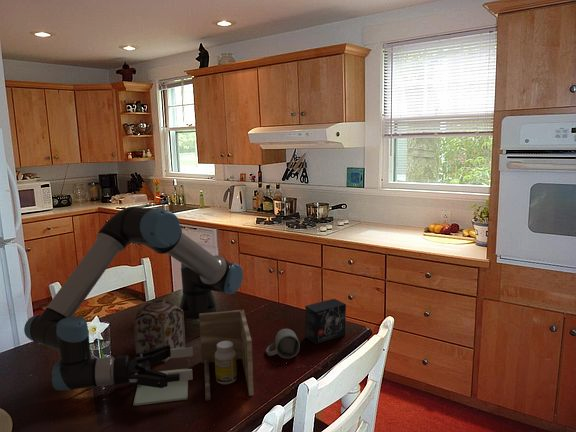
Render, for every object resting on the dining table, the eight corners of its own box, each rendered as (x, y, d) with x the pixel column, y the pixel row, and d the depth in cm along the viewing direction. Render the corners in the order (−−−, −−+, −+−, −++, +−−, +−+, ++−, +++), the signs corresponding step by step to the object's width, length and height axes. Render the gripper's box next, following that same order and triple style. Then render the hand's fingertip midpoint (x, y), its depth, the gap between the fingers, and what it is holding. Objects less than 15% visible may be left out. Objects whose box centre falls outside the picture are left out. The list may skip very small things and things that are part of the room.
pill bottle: (228, 371, 137) (227, 337, 135) (241, 379, 133) (240, 343, 131) (211, 379, 133) (209, 344, 131) (224, 387, 129) (222, 351, 127)
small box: (316, 345, 154) (315, 311, 152) (304, 338, 159) (304, 305, 157) (346, 335, 161) (346, 303, 159) (334, 329, 166) (334, 297, 164)
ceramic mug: (296, 346, 153) (295, 324, 152) (300, 357, 145) (299, 335, 144) (265, 349, 152) (263, 327, 150) (267, 361, 144) (266, 338, 142)
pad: (140, 375, 136) (140, 373, 136) (188, 370, 139) (188, 368, 139) (133, 405, 121) (133, 403, 120) (187, 399, 123) (187, 397, 123)
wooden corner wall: (201, 361, 144) (199, 313, 141) (245, 356, 146) (243, 309, 144) (202, 401, 122) (199, 345, 119) (253, 395, 125) (251, 340, 122)
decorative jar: (135, 357, 147) (131, 304, 144) (157, 342, 158) (153, 292, 155) (166, 363, 143) (162, 309, 140) (186, 347, 154) (183, 296, 151)
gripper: (123, 361, 139) (193, 354, 143) (107, 408, 115) (192, 398, 119) (121, 338, 138) (192, 331, 141) (104, 381, 113) (191, 371, 117)
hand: (192, 362), depth 130 cm, fingers open, 13 cm apart
